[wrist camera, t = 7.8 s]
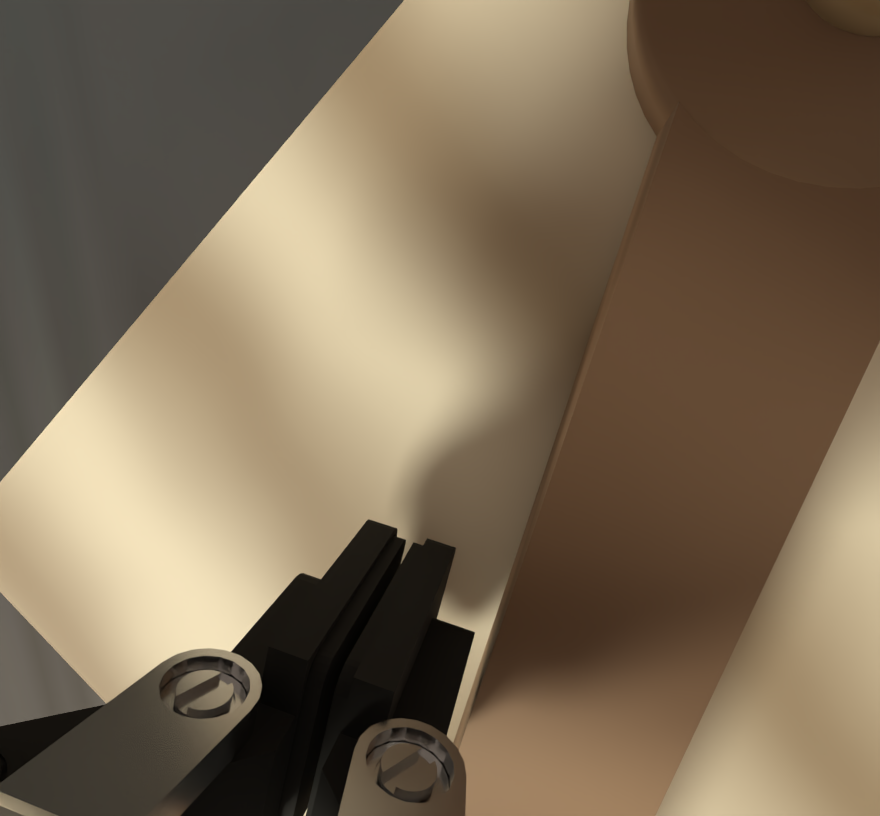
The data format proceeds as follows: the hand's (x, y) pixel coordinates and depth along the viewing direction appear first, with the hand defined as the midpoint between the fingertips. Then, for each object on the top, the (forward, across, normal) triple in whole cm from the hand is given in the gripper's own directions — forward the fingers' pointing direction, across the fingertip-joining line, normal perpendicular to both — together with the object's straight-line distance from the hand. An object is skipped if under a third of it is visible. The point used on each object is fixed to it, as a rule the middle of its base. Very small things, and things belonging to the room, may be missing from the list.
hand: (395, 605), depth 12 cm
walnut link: (+1, -3, -3) cm, 4 cm away
